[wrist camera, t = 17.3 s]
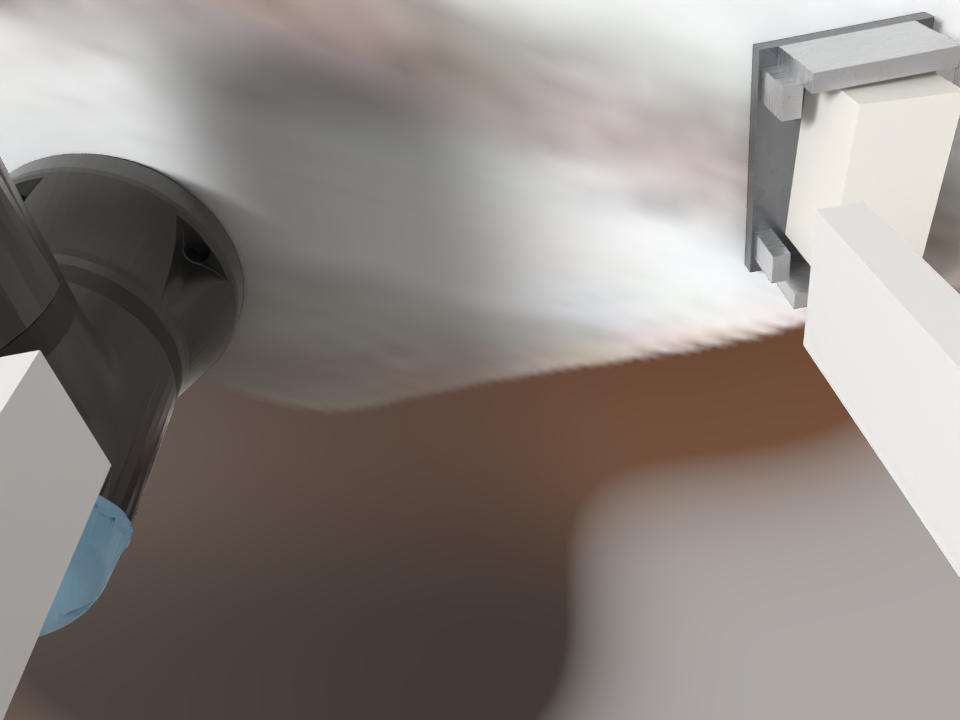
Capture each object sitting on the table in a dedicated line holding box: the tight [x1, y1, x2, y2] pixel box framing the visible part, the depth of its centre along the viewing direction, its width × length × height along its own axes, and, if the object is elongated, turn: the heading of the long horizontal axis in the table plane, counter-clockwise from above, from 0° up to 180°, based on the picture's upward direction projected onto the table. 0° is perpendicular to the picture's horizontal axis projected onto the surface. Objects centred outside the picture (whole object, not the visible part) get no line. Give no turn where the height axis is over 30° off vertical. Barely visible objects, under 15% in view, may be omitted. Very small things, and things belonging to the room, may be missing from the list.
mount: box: [745, 12, 960, 309], centre depth 44 cm, size 14×9×6 cm, turn 10°
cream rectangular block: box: [785, 71, 960, 266], centre depth 43 cm, size 10×5×6 cm, turn 6°
